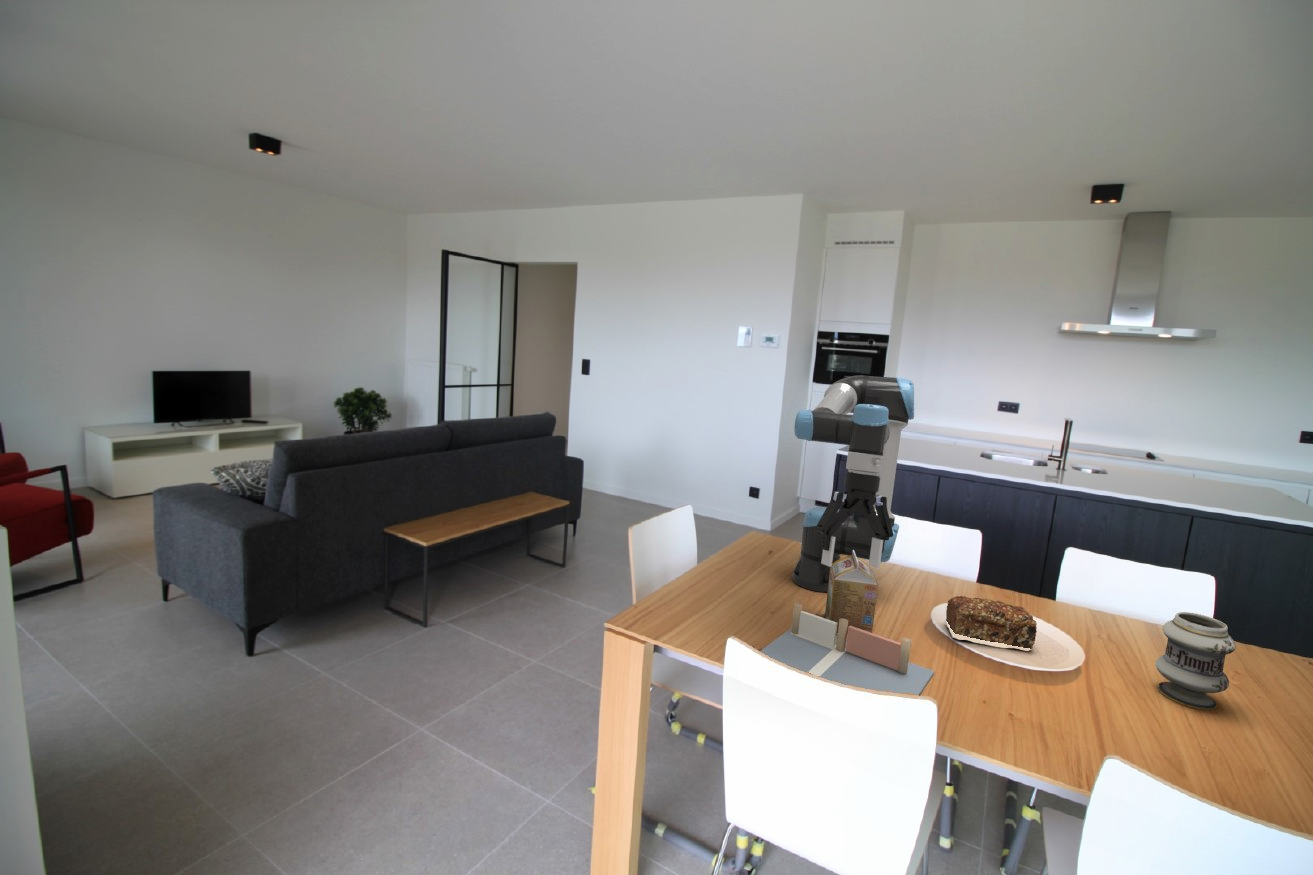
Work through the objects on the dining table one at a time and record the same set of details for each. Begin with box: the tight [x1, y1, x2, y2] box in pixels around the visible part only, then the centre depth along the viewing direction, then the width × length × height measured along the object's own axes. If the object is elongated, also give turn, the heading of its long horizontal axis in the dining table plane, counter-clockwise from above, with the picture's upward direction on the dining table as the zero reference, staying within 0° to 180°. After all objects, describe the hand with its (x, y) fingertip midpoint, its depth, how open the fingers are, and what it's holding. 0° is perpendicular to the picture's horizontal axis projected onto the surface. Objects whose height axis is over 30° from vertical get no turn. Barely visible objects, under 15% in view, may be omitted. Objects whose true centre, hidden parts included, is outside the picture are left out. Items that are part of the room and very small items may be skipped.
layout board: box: [760, 627, 935, 696], centre depth 136 cm, size 22×33×1 cm, turn 51°
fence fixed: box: [790, 602, 848, 651], centre depth 145 cm, size 2×14×7 cm, turn 52°
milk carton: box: [824, 550, 879, 634], centre depth 155 cm, size 11×11×19 cm
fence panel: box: [845, 626, 912, 673], centre depth 136 cm, size 14×2×7 cm, turn 51°
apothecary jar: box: [1155, 611, 1237, 711], centre depth 130 cm, size 12×12×18 cm
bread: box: [945, 595, 1038, 650], centre depth 153 cm, size 19×11×10 cm, turn 76°
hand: (850, 566), depth 136 cm, fingers open, 13 cm apart
